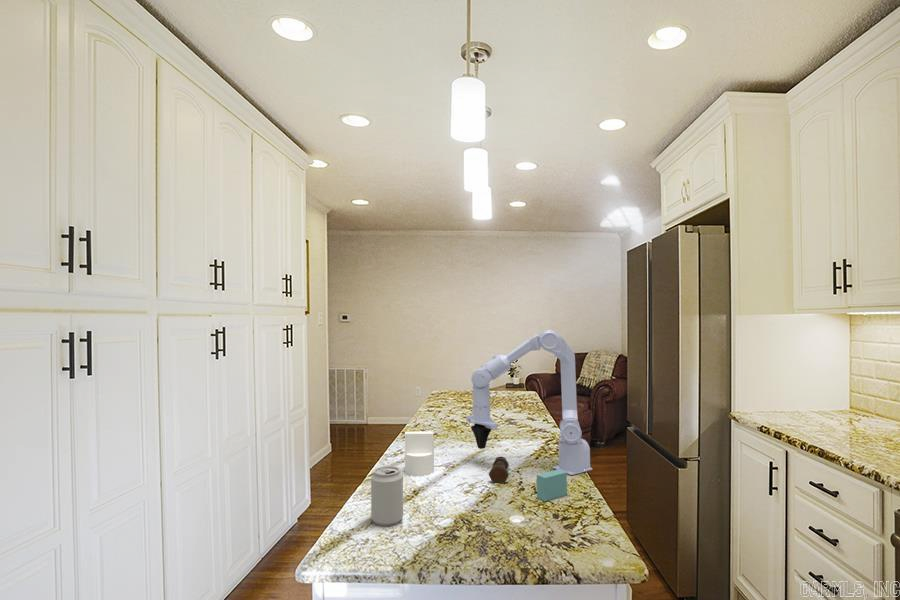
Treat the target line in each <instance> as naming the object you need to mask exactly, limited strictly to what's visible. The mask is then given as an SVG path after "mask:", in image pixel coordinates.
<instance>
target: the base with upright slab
mask: <svg viewBox="0 0 900 600" xmlns="http://www.w3.org/2000/svg"><path fill="white" fill-rule="evenodd" d="M434 435H435V434H434V431H433V430H426V431H425V430H420V431H419V430H418V431H405V432H404V473H405V474H406V475H407V474H408V475H407V476H410V475H412V476H411V477H418V476H419V477H425V476H424V475H427V476H430V475H432V474H433V473H434V472H435V444H434V443H435V438H434ZM431 473H432V474H431ZM429 474H430V475H429Z"/></svg>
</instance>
